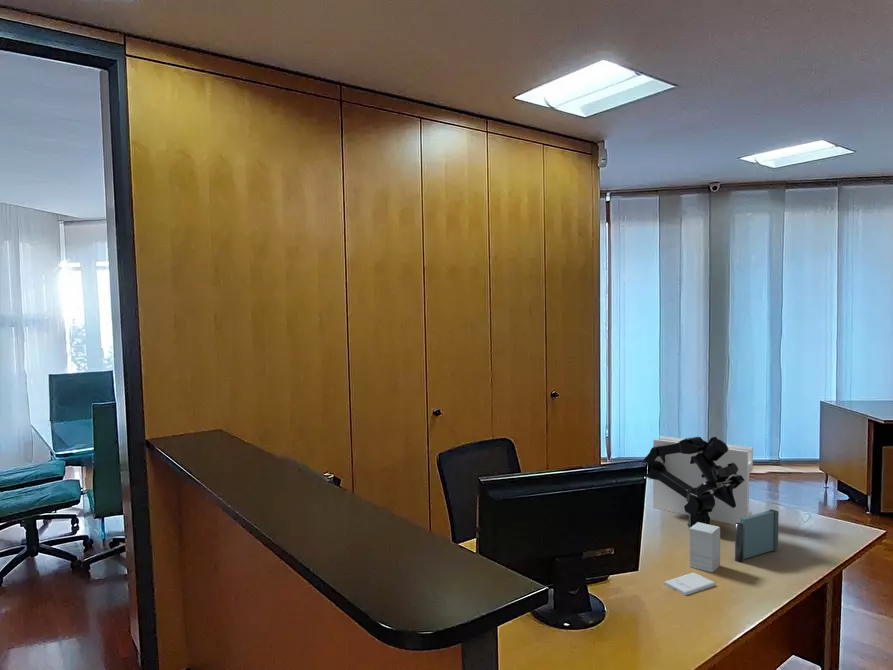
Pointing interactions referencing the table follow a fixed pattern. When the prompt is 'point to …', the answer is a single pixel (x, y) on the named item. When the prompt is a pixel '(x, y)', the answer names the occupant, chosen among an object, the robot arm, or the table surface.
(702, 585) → the external hard drive
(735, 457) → the block
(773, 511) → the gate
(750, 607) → the table surface
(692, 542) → the supplement box
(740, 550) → the gate post
